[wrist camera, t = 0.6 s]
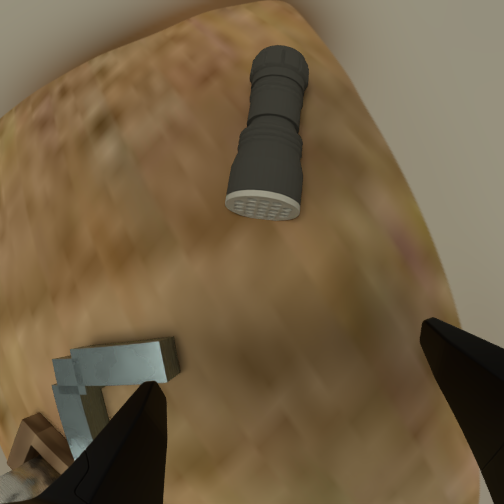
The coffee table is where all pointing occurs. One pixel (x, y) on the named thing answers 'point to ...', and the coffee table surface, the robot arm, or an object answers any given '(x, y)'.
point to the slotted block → (40, 444)
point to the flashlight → (271, 139)
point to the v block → (105, 381)
